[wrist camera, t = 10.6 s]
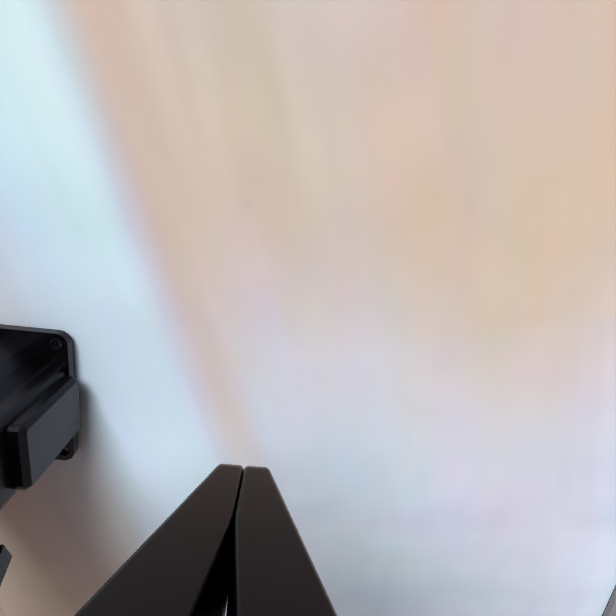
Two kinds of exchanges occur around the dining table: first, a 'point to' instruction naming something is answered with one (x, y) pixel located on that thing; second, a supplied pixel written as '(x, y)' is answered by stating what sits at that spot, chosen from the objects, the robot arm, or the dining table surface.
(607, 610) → the mat
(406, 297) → the dining table surface
